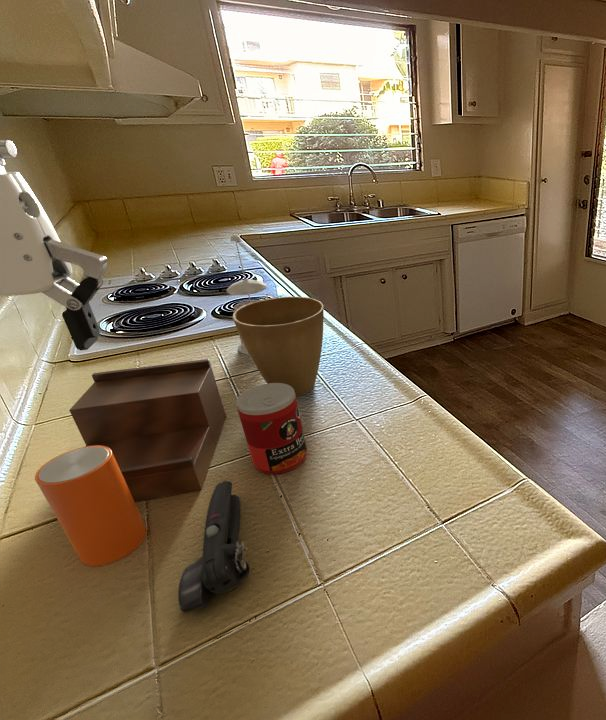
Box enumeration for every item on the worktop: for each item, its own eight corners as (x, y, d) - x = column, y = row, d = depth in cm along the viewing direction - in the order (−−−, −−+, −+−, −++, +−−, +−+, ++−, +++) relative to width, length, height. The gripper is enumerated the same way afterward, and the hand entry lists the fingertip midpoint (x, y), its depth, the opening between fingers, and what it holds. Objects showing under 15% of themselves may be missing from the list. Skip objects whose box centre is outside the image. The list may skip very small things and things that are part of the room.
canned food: (276, 482, 65) (258, 417, 60) (241, 463, 69) (223, 400, 64) (319, 453, 71) (307, 391, 66) (285, 437, 74) (271, 377, 69)
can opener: (253, 604, 48) (240, 566, 46) (176, 626, 46) (159, 588, 44) (261, 492, 63) (251, 459, 61) (204, 505, 61) (191, 472, 58)
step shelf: (63, 515, 60) (24, 445, 54) (119, 432, 76) (93, 372, 71) (201, 490, 64) (177, 422, 59) (226, 416, 80) (209, 358, 75)
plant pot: (269, 418, 79) (247, 332, 72) (243, 385, 89) (222, 307, 82) (349, 389, 88) (337, 310, 81) (317, 362, 98) (304, 290, 91)
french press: (255, 334, 112) (229, 229, 100) (298, 338, 110) (277, 231, 98) (227, 352, 103) (196, 239, 92) (274, 356, 101) (248, 241, 90)
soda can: (69, 572, 52) (20, 490, 46) (94, 528, 58) (53, 451, 52) (136, 557, 54) (97, 476, 48) (154, 517, 59) (120, 440, 54)
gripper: (83, 152, 42) (145, 326, 50) (-171, 156, 37) (-60, 347, 45) (43, 156, 36) (120, 355, 43) (-270, 161, 31) (-121, 383, 39)
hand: (29, 351), depth 44 cm, fingers open, 9 cm apart
